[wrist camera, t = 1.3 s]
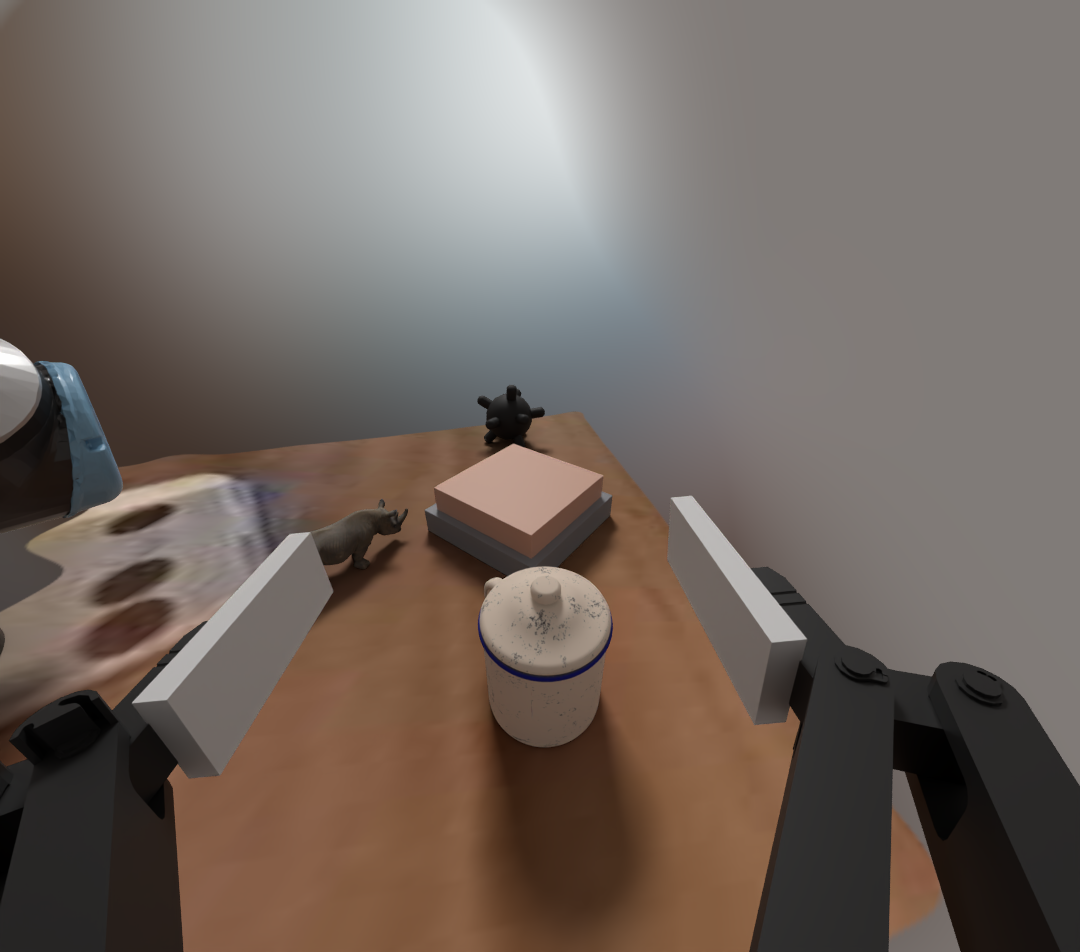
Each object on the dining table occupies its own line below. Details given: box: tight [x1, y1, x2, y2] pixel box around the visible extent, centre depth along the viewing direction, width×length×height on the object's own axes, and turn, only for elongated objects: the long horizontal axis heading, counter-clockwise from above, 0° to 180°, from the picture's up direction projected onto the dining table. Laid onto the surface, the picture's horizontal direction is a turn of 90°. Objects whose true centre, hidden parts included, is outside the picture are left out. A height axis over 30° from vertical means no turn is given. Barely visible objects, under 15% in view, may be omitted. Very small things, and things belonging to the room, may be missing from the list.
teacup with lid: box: [478, 567, 613, 747], centre depth 30 cm, size 12×9×12 cm
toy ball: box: [478, 385, 545, 448], centre depth 68 cm, size 11×11×12 cm
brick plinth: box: [425, 444, 612, 576], centre depth 49 cm, size 16×16×6 cm
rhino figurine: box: [311, 499, 408, 569], centre depth 43 cm, size 4×14×6 cm, turn 139°
